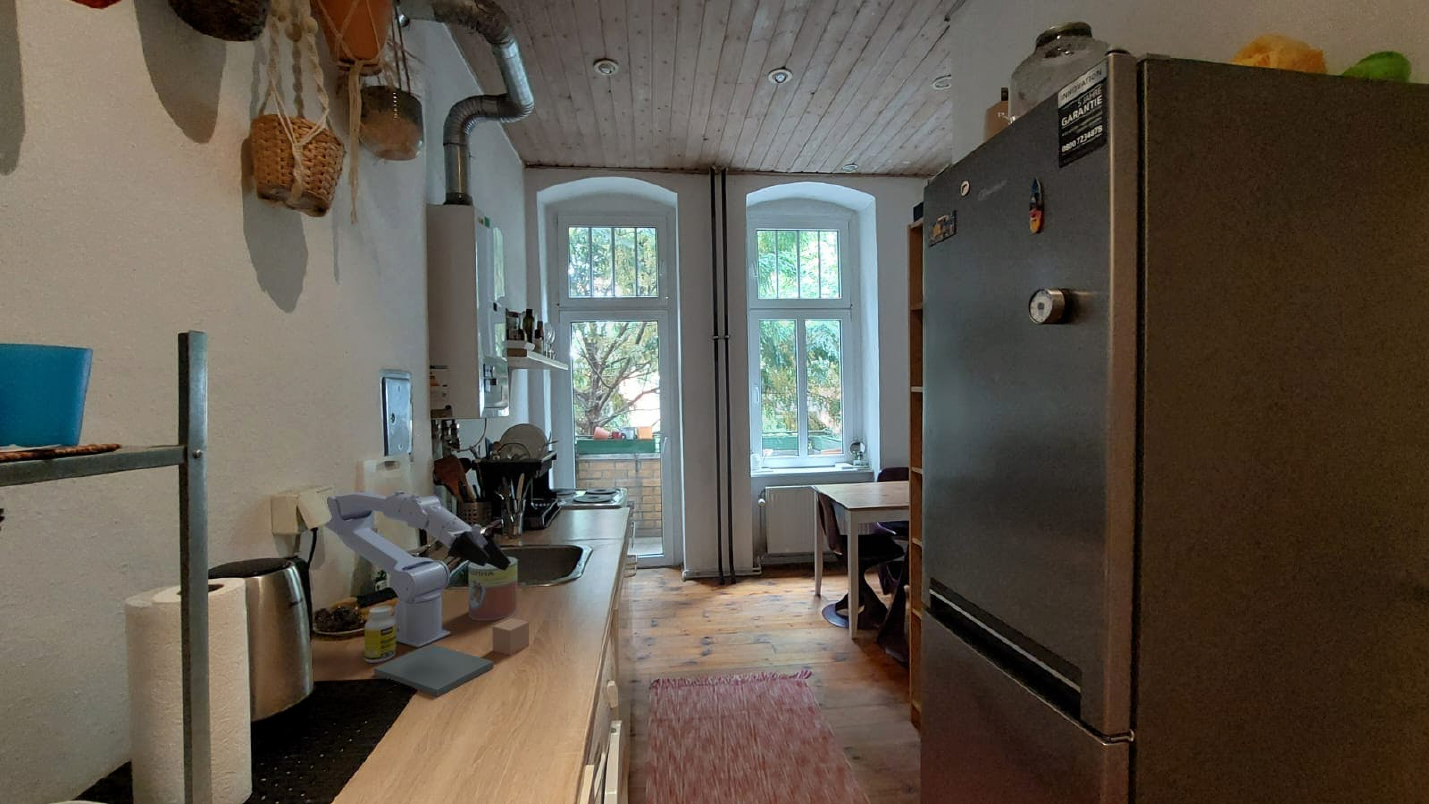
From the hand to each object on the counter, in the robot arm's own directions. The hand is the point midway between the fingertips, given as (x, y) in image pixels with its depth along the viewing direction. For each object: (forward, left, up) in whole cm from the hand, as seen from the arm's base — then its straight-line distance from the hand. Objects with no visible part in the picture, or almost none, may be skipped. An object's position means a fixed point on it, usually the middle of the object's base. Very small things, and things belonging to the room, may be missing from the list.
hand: (497, 564), depth 115 cm
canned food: (-20, +16, -19) cm, 32 cm away
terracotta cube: (0, +3, -18) cm, 19 cm away
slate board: (-5, -11, -18) cm, 22 cm away
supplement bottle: (-20, -12, -18) cm, 30 cm away
